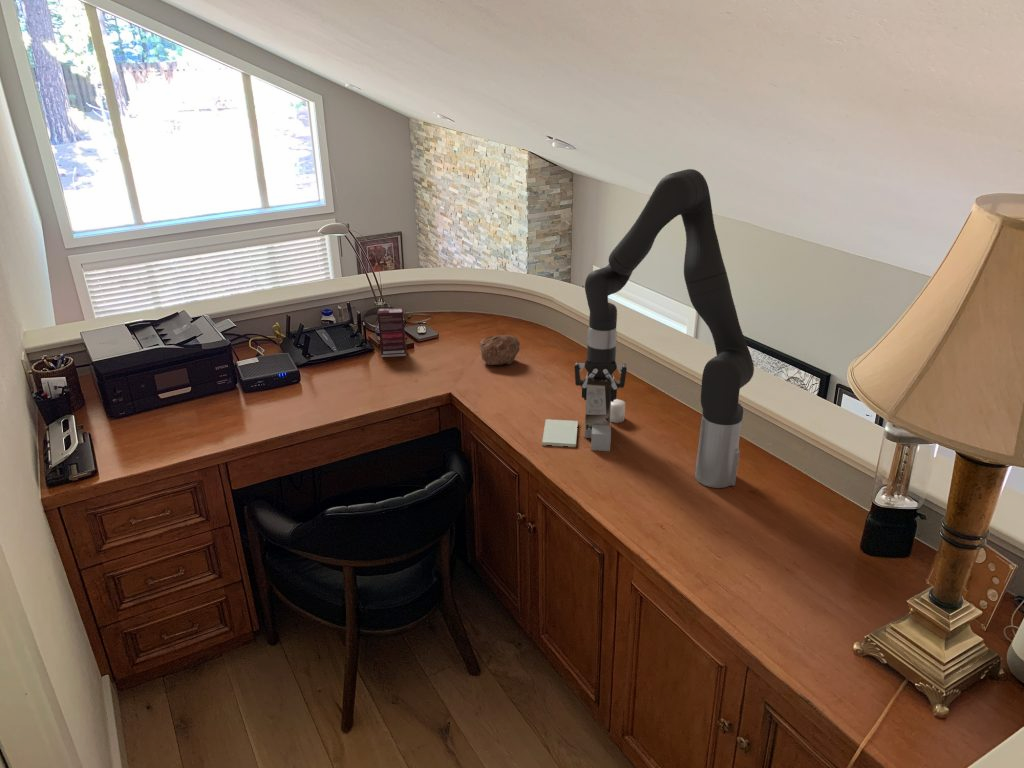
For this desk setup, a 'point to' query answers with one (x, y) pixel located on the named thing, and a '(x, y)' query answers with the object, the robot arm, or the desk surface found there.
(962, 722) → the desk surface
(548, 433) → the sage board
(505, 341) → the decorative rock
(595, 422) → the coffee box
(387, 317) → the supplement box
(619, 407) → the white rounded cylinder
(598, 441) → the grey block
